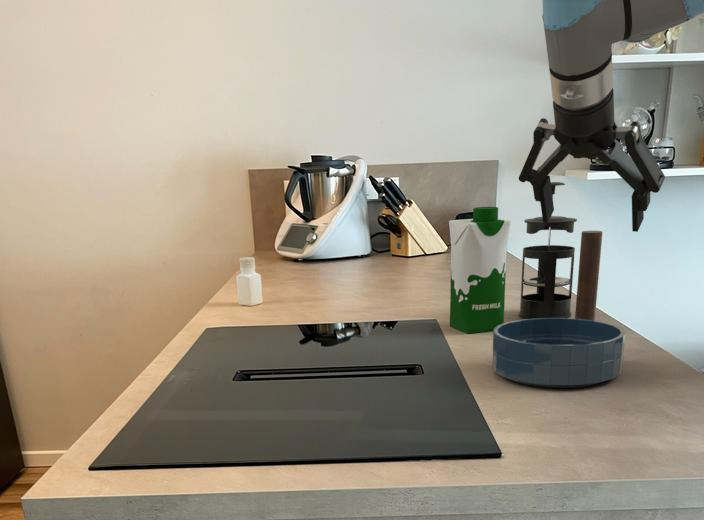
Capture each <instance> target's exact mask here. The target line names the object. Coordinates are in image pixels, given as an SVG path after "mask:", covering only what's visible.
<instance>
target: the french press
mask: <svg viewBox="0 0 704 520" xmlns="http://www.w3.org/2000/svg"><path fill="white" fill-rule="evenodd" d="M565 185H566V183H564V182H561V181H551V189H552V197H553V198H554V195H555V194H556V187H557V186H558V187H559V186H565ZM523 222H524V223H526V231H525V233H526V234H529V235H534V234H537V233H538V232H540V231H548V235H547V236H548V237H547V244H546V245H545V244H544V245H530V246H526V247H523V248H522V263H521V281H520V282H521V283H520V285H521V286H520V304H519V312H518V317H519V318H521V319H531V318H572V312H571V306H572V293H573V292H572V290H573V280H574V279H573V278H574V266H575V250H576V247H574V246H570V245H557V244H555V245H554V244H551V236H552V234H551V233H552V231H565V232H566V233H570V234H573V233H574V230H575V229H574V228H575V223H576V222H578V219H577V218H574V217H566V216H562V215H561V216H560V215H559V216H558V215H553V214H552V215H551V217H550V219H549V221H548V222H543V218H542V216H537V217H533V218H527V219H524V221H523ZM525 259H530V260H531V259H533V260H538V262H537V276H532V277H527V278H525ZM561 259H562V260H563V259H564V260H565V259H570V262H571V263H570V273H569V278H567V277H561V276H557V260H561ZM524 285H525V286H528V287H535V288H536V293H529V294H524ZM565 286H568V287H569V288H568V294H564V293H563V294H562V293H556V292H555V291H556V288H559V287H565Z"/></svg>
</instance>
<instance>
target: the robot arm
mask: <svg viewBox="0 0 704 520" xmlns="http://www.w3.org/2000/svg"><path fill="white" fill-rule="evenodd" d="M703 15H704V0H542V15H541V16H542V17H541V19H542V23H543V30H544V39H545V45H546V53H547V63H548V69H549V70H548V71H549V81H550V88H551V89H550V91H551V98H552V108H553V109H552V110H553V117H554V124H553V123H549V120H548V119H547V118H545V117H544V118H543V117H542V118H540V119H539V121H538V123H537V125H536V127H535V128H534V131H533V135H532V136H533V139H532V140H533V142H532V143H533V144H532V146H531V148H530V150H529V152H528V155H527V157H526V160H525V162H524V164H523V167H522V168H521V171H520V173H519V176H518V181H520V182H521V183H526V182H528V183H530V185H531V186H532V191H533V197H534V198H533V199H534V200H535V202H539V203H540V209H541V217H542V218H543V222H548V221H549V219H550V217H551V215H552V216H553V213H554V211H555V206H554V196H553V197H552V189H551V182H552V181H551V175H550V174H551V172H552V171H554V169H555V168H557V166H558V165H559V164H560V163H562V162H563V161H564V160H565V159H566V158H567V157H568V156H571V157H573V159H584V158H585V159H588V160H597V159H599V161H600V162H601V163H602V164H603V165H605V166H607V165H609V167H610V168H611V169H612V170H613V171H614V172H615V173H616V174H617V175H618V176H619V177H620V178H621V179H622V180H623V181H624V182H625V183H626V184H627V185H628V186H629V187H630V188H631V189H632V190H633V192H632V194H631V227H632V228H631V229H632V232H636V233H637V232H638V233H639V230H640V228H641V225H642V224H643V221H644V219H645V218H644V217H645V214H644V213H645V212H646V211H648V208H649V206H650V203H651V192H652V193H655V194H657V193H659V192H660V190H661V188H662V185H663V184H664V181H665V179H666V176H665V174H664V172H663V170H662V168H661V166H660V165H659V163H658V162H657V160H656V158H655V157H654V155H653V153H652V152H651V150H650V148H649V146H648V144H647V143H646V141H645V140H644V138H643V136H642V131H641V124H640V123H639V121H632V122H631V123H630V125H629V126H618V125H617V124H616V122H615V97H614V96H615V94H614V87H613V86H614V72H613V70H614V69H613V50H612V49H613V44H616V43H619V42H626V43H632V44H637V43H641V42H645V41H646V40H648V39H650V38H652V37H654V36H655V35H657V34H659V33H663V32H665V31H668V30H670V29H672V28H675V27H677V26H679V25H682V24H685V23H687V22H688V21H691V20H693V19H696V18H698V17H700V16H703ZM552 136H553V138H554V139H555V140H556V142H558V144H559V145H558V146H557V148H556V149H555V150H554V151H553V152H552V153H551V154H550V155H549V156H548V157H547V159H545V161H544V162H543V163H542V164H541V165H540V166H538V167H537V169H534V167H535V164H536V162H537V160H538V157H539V155H540V154H541V151H542V149H543V147H544V144H545V142H548V141H549V140H550V138H551V137H552ZM617 139H618V140H617ZM619 141H621V143H620V142H619ZM621 146H622V147H625V148H626V149H625V150H626V151H624V149H623V148H622V147H621ZM626 152H627V153H626Z"/></svg>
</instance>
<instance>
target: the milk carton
mask: <svg viewBox="0 0 704 520" xmlns="http://www.w3.org/2000/svg"><path fill="white" fill-rule="evenodd" d="M511 222H512V221H511V220H509V219H505V218H503V219H502V218H499V207H498V206H477V207H473V209H472V218H467V219H454V220H453V219H452V220H451V219H450V220H448V226H449V236H450V294H449V295H450V296H449V297H450V299H449V327H451V328H454V329H455V330H458V331H460V332H463V333H465V334H476V333H485V332H494V328H496V327H497V326H498V325H501V324H503V323H505V305H506V303H505V301H506V300H505V299H506V278H507V277H506V275H507V254H508V253H507V252H508V251H507V250H508V242H509V234H510V228H511Z"/></svg>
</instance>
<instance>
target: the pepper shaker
mask: <svg viewBox="0 0 704 520" xmlns="http://www.w3.org/2000/svg"><path fill="white" fill-rule="evenodd" d="M238 262H239V269H240V273H239V274H237V275H236V277H235V281H236V293H237V302H238V305H239V306H247V307H248V306H249V307H254V306H257V305H261V304H262V303H263V301H264V299H263V286H262V275H261V274H260V273H257V272H256V259H255V257H253V256H246V257H239V259H238Z"/></svg>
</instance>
